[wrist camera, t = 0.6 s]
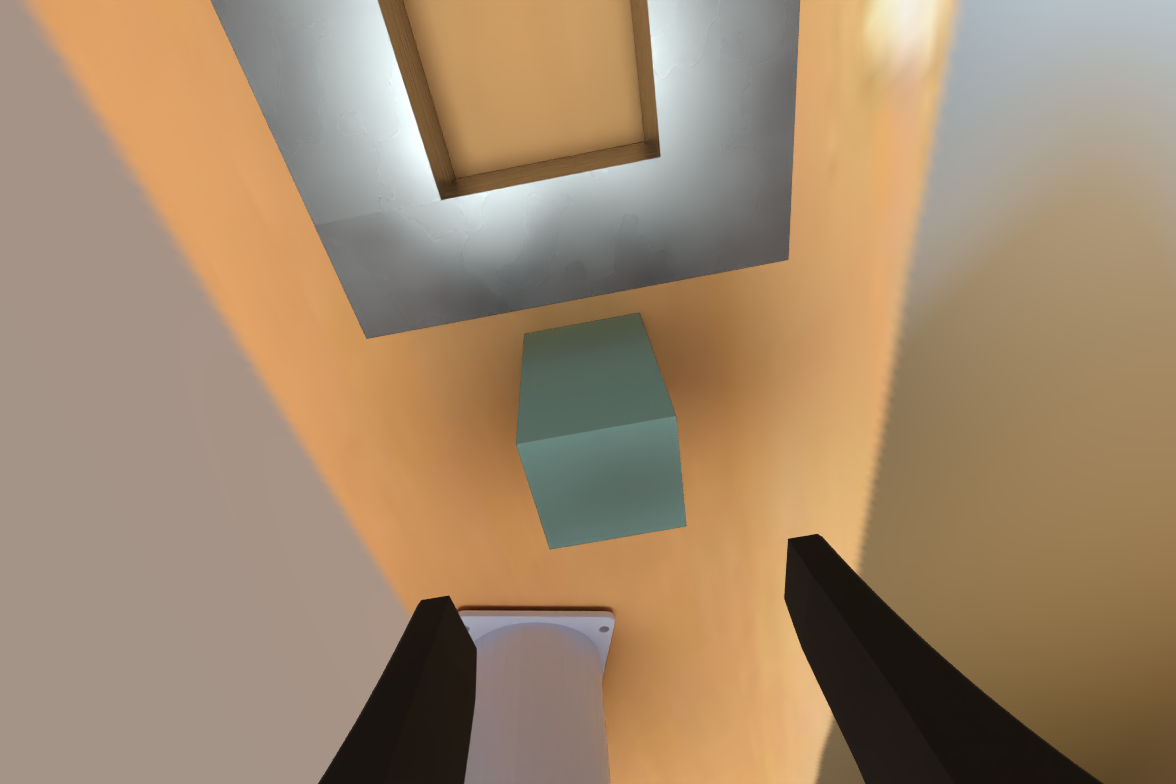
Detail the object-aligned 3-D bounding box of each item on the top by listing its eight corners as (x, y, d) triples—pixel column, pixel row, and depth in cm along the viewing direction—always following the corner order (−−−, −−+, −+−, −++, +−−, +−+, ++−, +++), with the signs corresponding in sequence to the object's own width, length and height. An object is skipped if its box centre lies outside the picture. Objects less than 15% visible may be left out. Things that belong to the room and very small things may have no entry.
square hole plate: (757, 232, 16) (788, 259, 14) (388, 303, 17) (366, 338, 15) (764, -394, 10) (823, -511, 8) (157, -252, 10) (60, -327, 8)
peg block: (651, 406, 20) (686, 526, 15) (548, 424, 20) (549, 549, 15) (639, 312, 18) (675, 415, 13) (524, 333, 18) (516, 444, 13)
